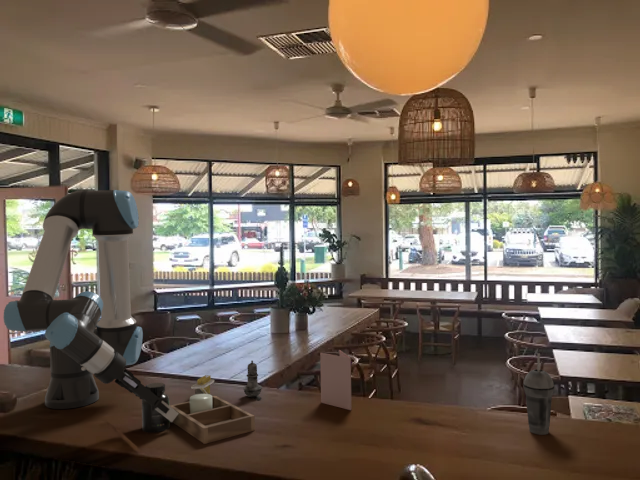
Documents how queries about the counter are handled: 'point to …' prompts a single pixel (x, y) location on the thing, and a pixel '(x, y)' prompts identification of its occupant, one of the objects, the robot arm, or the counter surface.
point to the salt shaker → (252, 383)
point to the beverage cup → (538, 399)
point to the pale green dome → (200, 403)
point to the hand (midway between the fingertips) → (169, 413)
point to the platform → (203, 385)
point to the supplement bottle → (154, 419)
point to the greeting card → (336, 380)
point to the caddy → (214, 420)
